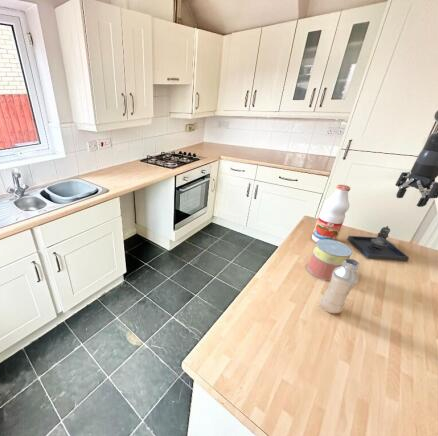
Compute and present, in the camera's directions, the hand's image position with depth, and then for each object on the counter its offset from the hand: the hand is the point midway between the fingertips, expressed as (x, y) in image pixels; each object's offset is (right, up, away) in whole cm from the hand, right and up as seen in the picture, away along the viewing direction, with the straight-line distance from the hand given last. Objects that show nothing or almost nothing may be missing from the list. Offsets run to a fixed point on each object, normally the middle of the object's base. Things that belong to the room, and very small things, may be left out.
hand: (409, 201), depth 97 cm
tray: (-1, -21, +13) cm, 25 cm away
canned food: (-34, -28, +1) cm, 44 cm away
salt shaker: (-1, -21, +13) cm, 24 cm away
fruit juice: (-20, -18, +20) cm, 34 cm away
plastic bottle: (-44, -38, -15) cm, 60 cm away
